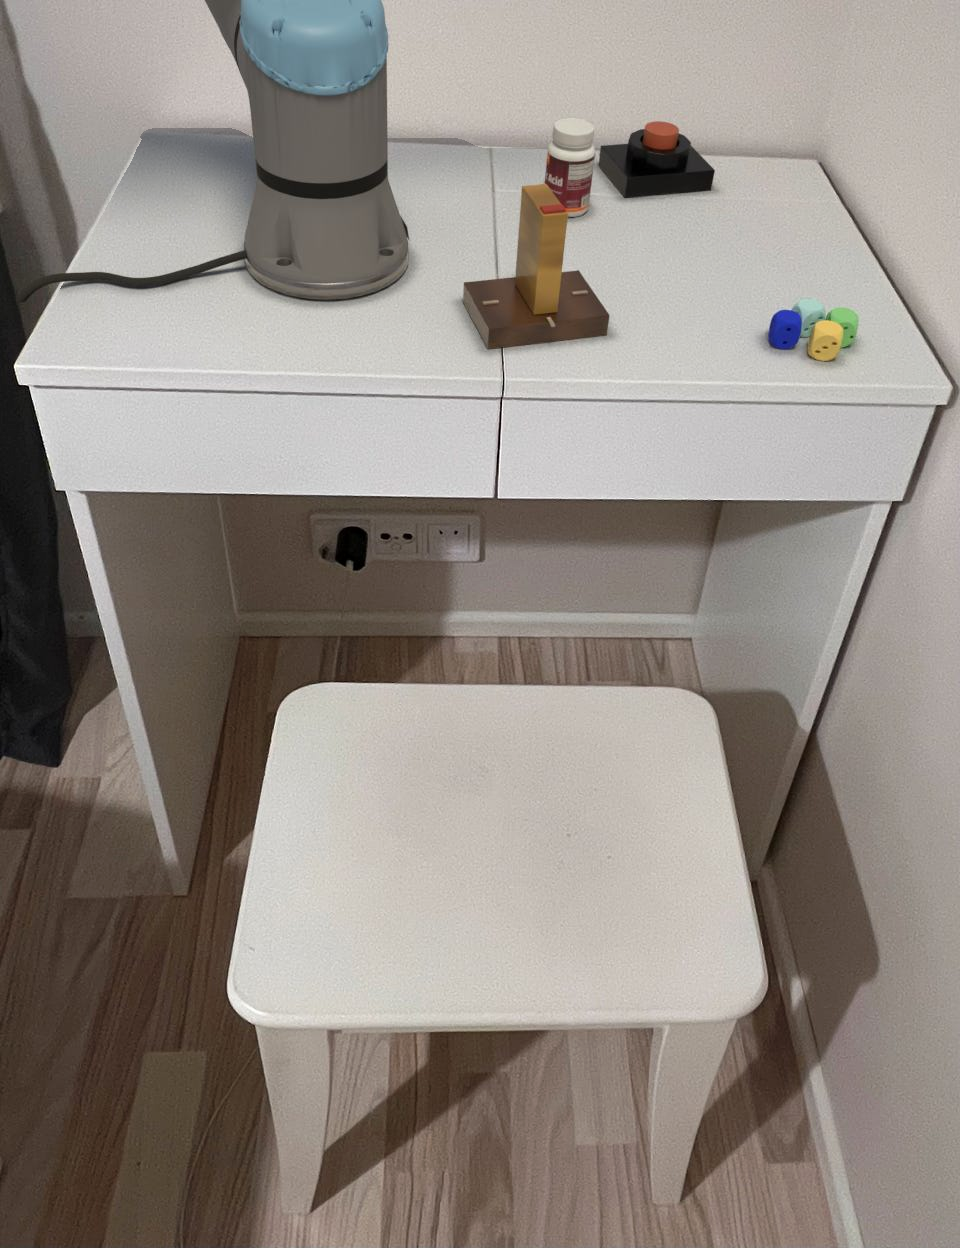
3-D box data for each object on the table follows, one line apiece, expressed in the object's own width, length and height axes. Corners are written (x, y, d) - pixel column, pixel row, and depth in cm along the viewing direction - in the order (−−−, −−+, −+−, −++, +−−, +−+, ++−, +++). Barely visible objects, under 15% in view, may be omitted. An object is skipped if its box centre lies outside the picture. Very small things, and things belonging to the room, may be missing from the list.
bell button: (650, 153, 117) (652, 136, 116) (637, 138, 120) (639, 122, 118) (681, 150, 118) (684, 133, 117) (668, 136, 120) (670, 120, 119)
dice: (755, 330, 100) (789, 369, 96) (761, 304, 98) (797, 343, 94) (833, 319, 102) (870, 357, 98) (841, 293, 100) (879, 331, 96)
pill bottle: (534, 201, 116) (541, 119, 110) (574, 194, 118) (583, 113, 112) (555, 221, 113) (563, 138, 107) (596, 214, 115) (607, 131, 109)
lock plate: (490, 354, 96) (491, 332, 94) (460, 297, 102) (461, 275, 100) (610, 340, 98) (613, 318, 96) (573, 285, 104) (575, 264, 103)
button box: (624, 198, 118) (630, 160, 115) (598, 165, 123) (602, 128, 120) (711, 190, 120) (718, 153, 117) (681, 158, 125) (687, 122, 122)
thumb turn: (514, 283, 100) (522, 182, 93) (537, 281, 101) (546, 180, 94) (533, 315, 96) (542, 212, 90) (557, 312, 97) (568, 210, 90)
